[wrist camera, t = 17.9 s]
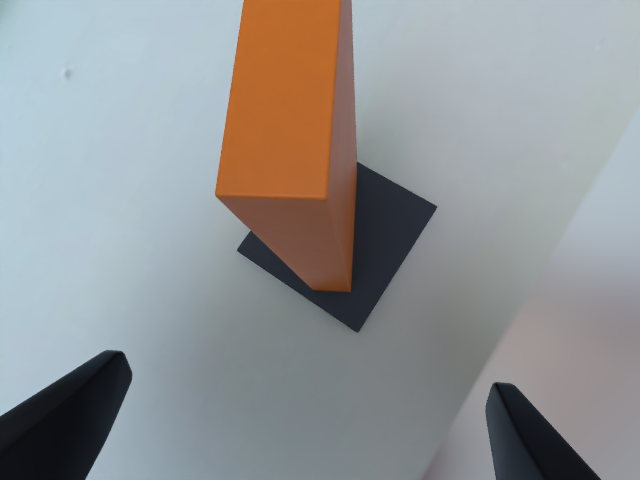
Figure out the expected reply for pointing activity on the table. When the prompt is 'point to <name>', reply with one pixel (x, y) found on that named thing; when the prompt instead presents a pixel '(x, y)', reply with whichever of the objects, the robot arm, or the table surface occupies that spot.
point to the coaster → (360, 247)
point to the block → (294, 136)
